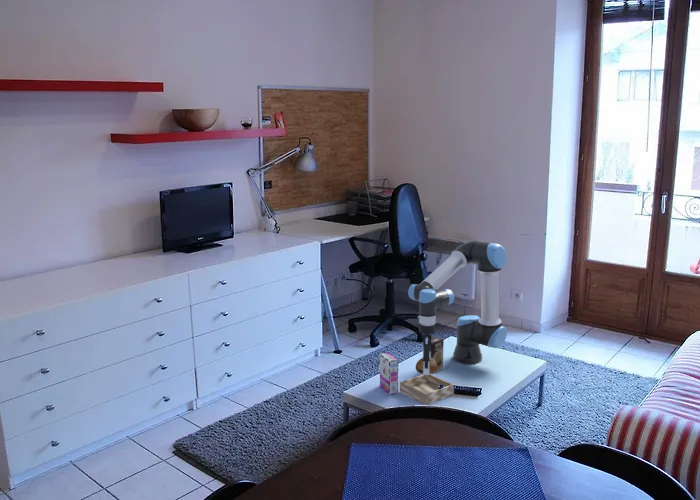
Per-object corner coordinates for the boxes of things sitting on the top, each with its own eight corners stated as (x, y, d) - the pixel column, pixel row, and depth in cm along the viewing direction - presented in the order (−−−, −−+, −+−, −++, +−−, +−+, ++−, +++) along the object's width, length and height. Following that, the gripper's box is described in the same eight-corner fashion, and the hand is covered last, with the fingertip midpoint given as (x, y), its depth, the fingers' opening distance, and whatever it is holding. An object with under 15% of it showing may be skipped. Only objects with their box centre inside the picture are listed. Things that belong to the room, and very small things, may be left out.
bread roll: (438, 379, 281) (444, 363, 282) (423, 375, 276) (429, 358, 276) (424, 372, 290) (430, 356, 290) (409, 368, 284) (415, 352, 284)
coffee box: (431, 374, 308) (432, 343, 305) (422, 370, 313) (422, 340, 310) (443, 369, 314) (444, 339, 311) (434, 365, 319) (434, 336, 315)
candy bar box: (398, 393, 286) (398, 360, 283) (389, 395, 284) (389, 361, 281) (388, 384, 296) (388, 352, 293) (379, 386, 295) (379, 353, 291)
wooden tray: (427, 382, 298) (427, 372, 297) (453, 394, 284) (454, 384, 283) (399, 392, 287) (399, 382, 287) (425, 405, 273) (425, 394, 272)
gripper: (420, 315, 291) (419, 360, 295) (417, 331, 268) (417, 379, 273) (436, 316, 289) (435, 361, 294) (435, 332, 267) (434, 380, 271)
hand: (426, 369), depth 283 cm, fingers closed on bread roll, 10 cm apart
